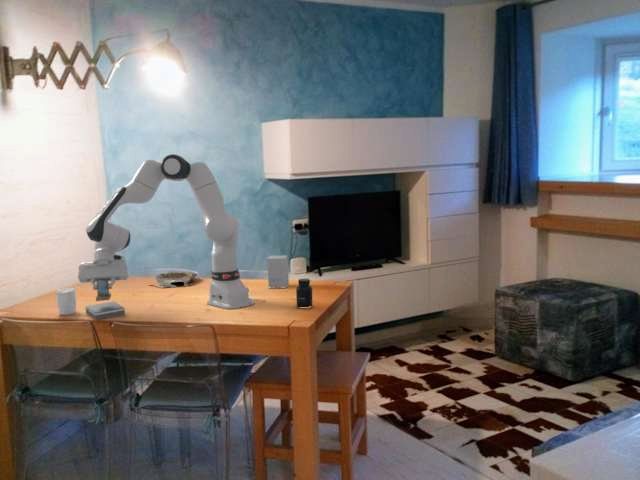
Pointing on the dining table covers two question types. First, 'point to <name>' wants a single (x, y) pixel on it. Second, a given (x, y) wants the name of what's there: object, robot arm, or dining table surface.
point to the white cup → (66, 301)
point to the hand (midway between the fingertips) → (102, 288)
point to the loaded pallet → (102, 290)
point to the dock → (105, 310)
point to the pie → (174, 278)
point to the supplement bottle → (304, 293)
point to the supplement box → (277, 271)
